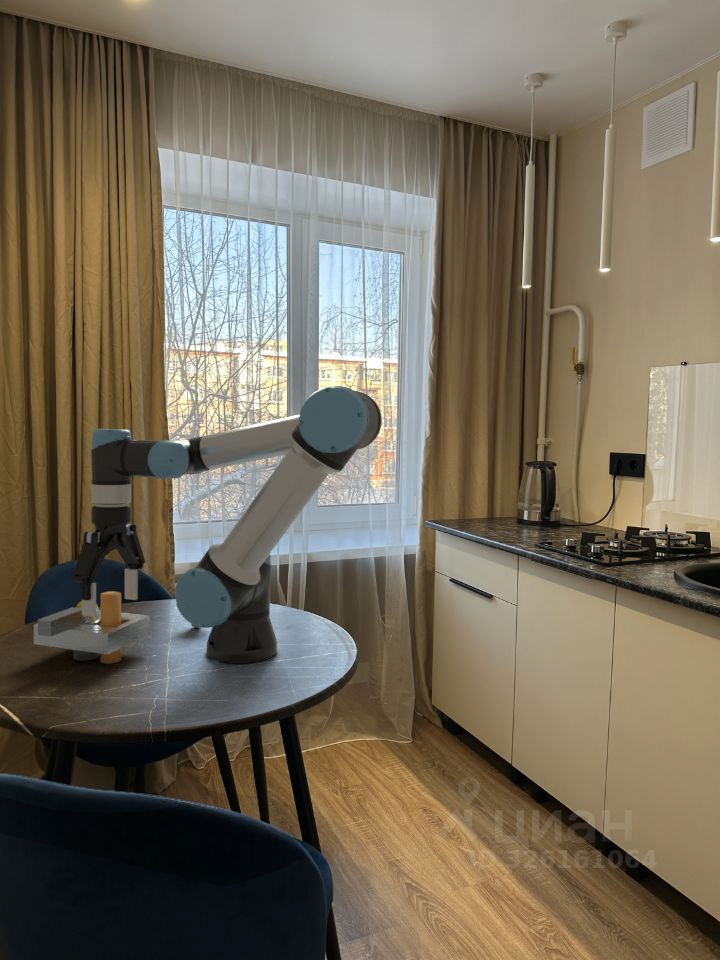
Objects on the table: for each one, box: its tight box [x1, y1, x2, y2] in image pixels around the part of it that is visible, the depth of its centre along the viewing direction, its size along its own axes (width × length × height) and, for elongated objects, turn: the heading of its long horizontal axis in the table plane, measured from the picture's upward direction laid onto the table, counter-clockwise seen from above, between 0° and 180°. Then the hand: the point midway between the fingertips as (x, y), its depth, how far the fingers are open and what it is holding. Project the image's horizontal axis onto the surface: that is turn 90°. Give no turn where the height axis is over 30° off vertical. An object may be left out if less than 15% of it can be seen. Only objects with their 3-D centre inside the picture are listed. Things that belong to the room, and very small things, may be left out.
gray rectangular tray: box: [33, 607, 151, 662], centre depth 135 cm, size 18×19×11 cm
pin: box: [100, 590, 122, 664], centre depth 136 cm, size 4×4×14 cm
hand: (111, 607), depth 136 cm, fingers open, 13 cm apart
